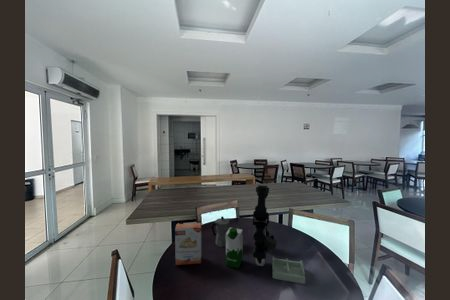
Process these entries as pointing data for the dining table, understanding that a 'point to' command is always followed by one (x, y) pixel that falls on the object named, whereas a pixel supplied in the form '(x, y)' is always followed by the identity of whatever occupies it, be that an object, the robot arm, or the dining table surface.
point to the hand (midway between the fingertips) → (260, 260)
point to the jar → (261, 262)
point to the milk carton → (234, 247)
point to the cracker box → (188, 243)
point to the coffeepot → (221, 231)
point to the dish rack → (288, 270)
